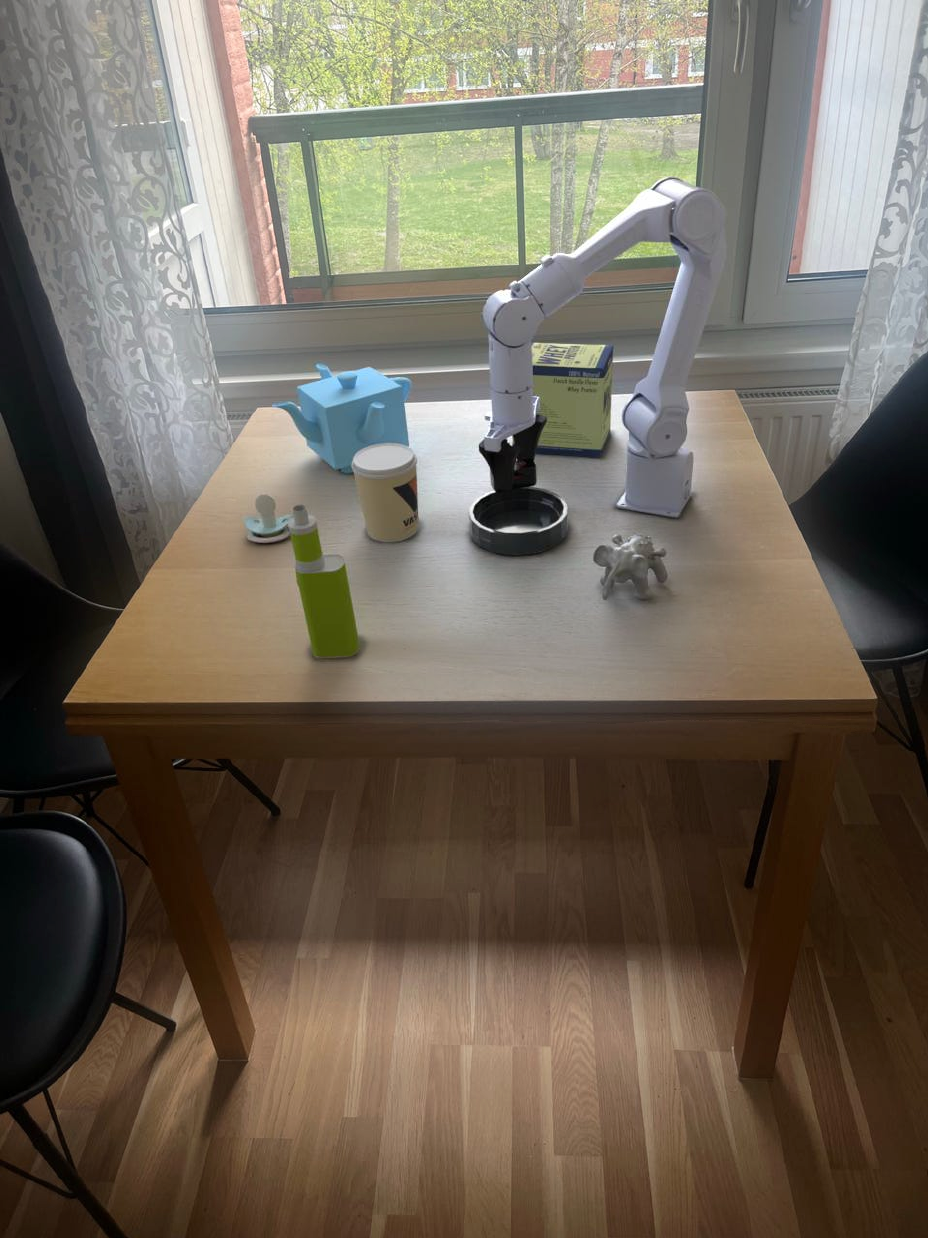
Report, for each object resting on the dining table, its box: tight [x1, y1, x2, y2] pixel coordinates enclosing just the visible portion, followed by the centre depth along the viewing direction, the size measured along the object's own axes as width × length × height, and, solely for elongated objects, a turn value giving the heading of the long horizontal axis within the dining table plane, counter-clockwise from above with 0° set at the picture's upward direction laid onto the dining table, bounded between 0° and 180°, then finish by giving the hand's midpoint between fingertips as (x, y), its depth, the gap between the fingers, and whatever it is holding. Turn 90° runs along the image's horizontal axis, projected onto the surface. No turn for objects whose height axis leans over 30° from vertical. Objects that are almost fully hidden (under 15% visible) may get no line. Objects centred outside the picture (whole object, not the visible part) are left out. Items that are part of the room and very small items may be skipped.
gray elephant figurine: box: [592, 532, 669, 601], centre depth 114 cm, size 9×12×8 cm
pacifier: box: [243, 493, 294, 544], centre depth 134 cm, size 7×6×6 cm
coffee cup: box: [352, 443, 419, 543], centre depth 131 cm, size 9×9×12 cm
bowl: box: [468, 486, 569, 556], centre depth 131 cm, size 14×14×4 cm
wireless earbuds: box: [489, 459, 538, 492], centre depth 128 cm, size 5×7×3 cm, turn 104°
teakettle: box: [271, 363, 413, 474], centre depth 151 cm, size 19×19×15 cm
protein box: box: [511, 342, 614, 459], centre depth 150 cm, size 10×16×16 cm
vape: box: [287, 504, 360, 659], centre depth 106 cm, size 4×6×20 cm, turn 90°
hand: (515, 476), depth 128 cm, fingers closed on wireless earbuds, 7 cm apart
